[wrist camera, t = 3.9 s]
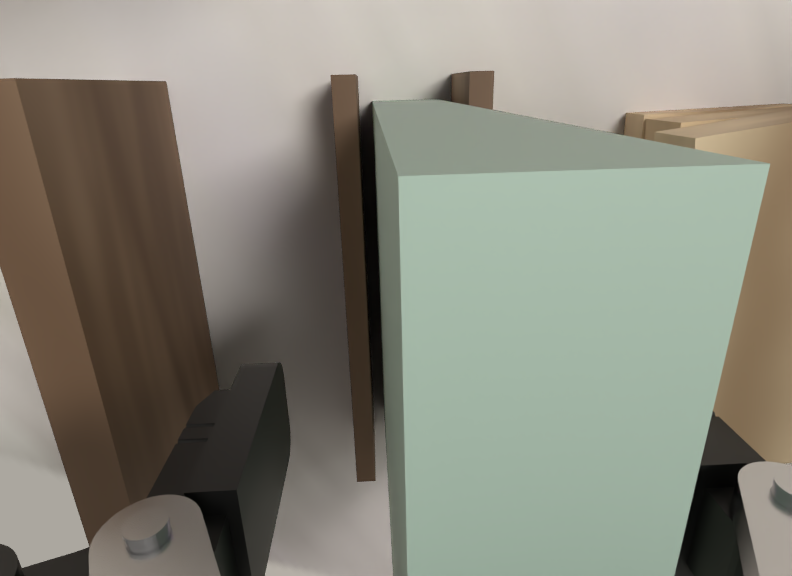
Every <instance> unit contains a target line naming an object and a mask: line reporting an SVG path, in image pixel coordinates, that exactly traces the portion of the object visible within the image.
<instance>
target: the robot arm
mask: <svg viewBox="0 0 792 576" xmlns="http://www.w3.org/2000/svg"><path fill="white" fill-rule="evenodd" d="M289 456H290V425H289V416H288V408H287V399H286V391H285V383H284V374H283V369H282V365H281V363H260V364H243V365H242V366H241V367H240V369H239V371H238V374H237V376H236V378H235V380H234V382H233V385H232V387H231V389H230V390H215V391H214V392H212V393H211V394H210V395H209V396H208V397H206V398H205V399H204V400H203V401H202V402H200V403H199V404H198V405H197V406H196V407H195V409H194V411H193V412H192V414H191V416H190V418H189V420H188V422H187V424H186V428H184V429H183V431H182V433H181V435H180V437H179V438H178V444H175V446H174V448H173V450H172V452H171V453H170V455H169V457H168V459H167V461H166V463H165V465H164V466H163V468H162V470H161V472H160V474H159V476H158V478H157V479H156V481H155V483H154V485H153V487H152V489H151V491H150V493H149V494H148V496H147V498H146V499H143V500H141V501H138V502H136V503H133V504H131V505H129V506H128V507H126V508H124V509H122V510H121V511H119V512H118V513H116V514H115V515H114V516H112V517H111V518H110V519H109V520H108V521H107V522H106V523H105V524H104V525H103V526H102V527H101V528H100V529H99V531H98V532H97V533H96V535H95V536H94V538H93V540H92V542H91V545H90V547H88V548H86V549H83V550H80V551H77V552H75V553H71V554H68V555H65V556H61V557H58V558H55V559H51V560H48V561H44V562H41V563H38V564H34V565H31V566H28V567H24V568H21V565H20V563H19V560H18V558H17V555H16V554H15V552H14V551H13V550H12V549H11V548H9V547H8V546H5V545H2V544H0V576H265V571H266V566H267V562H268V557H269V552H270V547H271V543H272V538H273V533H274V528H275V524H276V519H277V514H278V509H279V505H280V500H281V495H282V490H283V486H284V481H285V476H286V471H287V467H288V462H289ZM674 576H792V465H788V464H784V463H778V462H768V461H765V460H764V459H763V458H762V457H761V456H760V455H759V454H758V453H757V452H756V451H755V450H754V449H753V448H752V447H751V446H750V445H749V444H747V443H746V442H745V441H744V440H743V439H742V438H741V437H740V436H739V435H738V434H737V433H736V432H735V431H734V430H733V429H732V428H730V427H729V426H728V425H727V424H726V423H725V422H724V421H723V420H722V419H721V418H720V417H719V416H718V417H716V416H715V412H714V411H713V412H712V416H711V421H710V425H709V429H708V434H707V438H706V442H705V447H704V451H703V455H702V459H701V464H700V468H699V472H698V477H697V481H696V485H695V489H694V494H693V498H692V502H691V507H690V511H689V515H688V519H687V524H686V528H685V532H684V537H683V541H682V545H681V550H680V554H679V558H678V562H677V567H676V571H675V575H674Z"/></svg>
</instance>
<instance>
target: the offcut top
mask: <svg viewBox="0 0 792 576" xmlns="http://www.w3.org/2000/svg"><path fill="white" fill-rule="evenodd" d="M654 141H656V142H661V143H666V144H671V145H677V146H682V147H687V148H692V149H697V150H702V151H708V152H713V153H718V154H723V155H728V156H733V157H739V158H744V159H749V160H754V161H759V162H765V163H770V168H769V172H768V176H767V180H766V185H765V189H764V193H763V198H762V202H761V206H760V210H759V215H758V219H757V223H756V228H755V232H754V236H753V240H752V245H751V249H750V253H749V258H748V262H747V266H746V271H745V275H744V279H743V283H742V288H741V292H740V296H739V301H738V305H737V309H736V313H735V318H734V322H733V326H732V331H731V335H730V339H729V343H728V348H727V352H726V356H725V361H724V365H723V369H722V374H721V378H720V382H719V386H718V391H717V395H716V399H715V404H714V408H713V411H714V412H715V416H716V417H718V416H719V417H720V418H721V419H722V420H723V421H724V422H725V423H726V424H727V425H728V426H729V427H730V428H732V429H733V430H734V431H735V432H736V433H737V434H738V435H739V436H740V437H741V438H742V439H743V440H744V441H745V442H746V443H747V444H749V445H750V446H751V447H752V448H753V449H754V450H755V451H756V452H757V453H758V454H759V455H760V456H761V457H762V458H763V459H764V460H765V461H768V462H778V463H784V464H785V463H791V462H792V109H791V110H785V111H779V112H773V113H767V114H761V115H755V116H749V117H742V118H736V119H730V120H724V121H718V122H712V123H706V124H700V125H694V126H688V127H682V128H676V129H670V130H664V131H658V132H654Z"/></svg>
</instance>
